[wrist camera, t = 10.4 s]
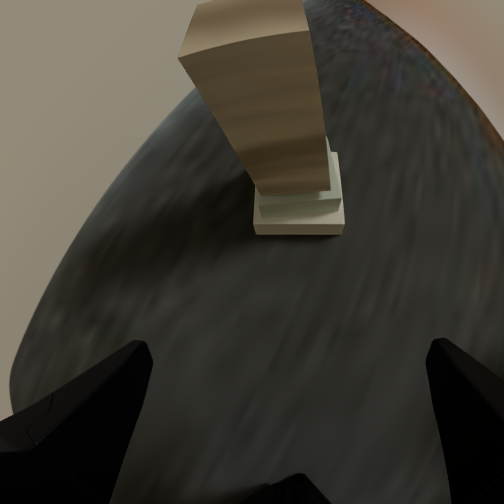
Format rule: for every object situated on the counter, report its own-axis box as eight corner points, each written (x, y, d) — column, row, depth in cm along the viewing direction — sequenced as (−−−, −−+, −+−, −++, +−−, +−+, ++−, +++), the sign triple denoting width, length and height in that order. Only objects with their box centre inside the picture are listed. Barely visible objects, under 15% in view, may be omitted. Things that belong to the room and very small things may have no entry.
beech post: (330, 190, 20) (308, 30, 8) (261, 196, 21) (177, 57, 9) (324, 134, 21) (297, -16, 9) (262, 140, 23) (197, 5, 11)
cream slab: (340, 237, 24) (344, 224, 22) (257, 236, 25) (253, 224, 23) (334, 168, 27) (336, 152, 24) (260, 169, 28) (257, 152, 25)
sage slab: (338, 211, 22) (341, 198, 20) (261, 218, 23) (258, 205, 21) (325, 151, 24) (326, 136, 23) (256, 157, 25) (253, 142, 23)
